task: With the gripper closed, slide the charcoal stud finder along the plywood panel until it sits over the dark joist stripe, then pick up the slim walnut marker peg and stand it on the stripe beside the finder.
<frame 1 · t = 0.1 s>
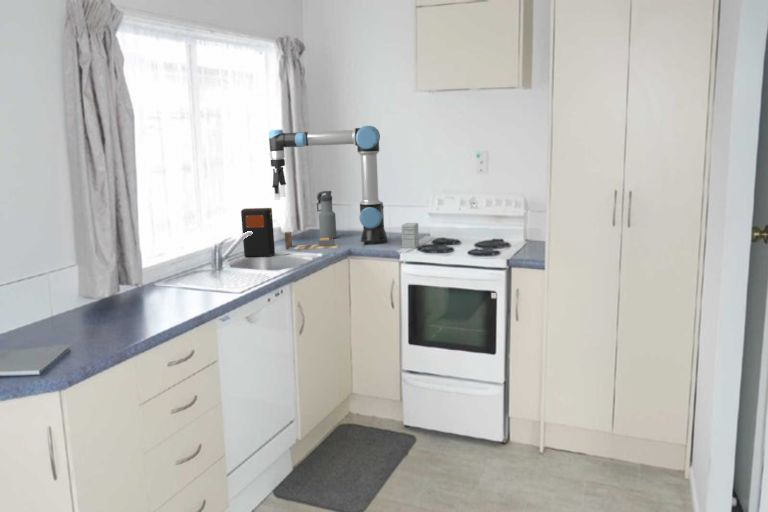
hand: (280, 198, 374), 28 cm above the counter, tool pointing down, fingers open, 13 cm apart
water bottle: (328, 238, 409), on the counter
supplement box: (410, 247, 370), on the counter
marker peg: (288, 248, 379), on the counter
voltmeter: (259, 256, 362), on the counter
plywood panel: (317, 248, 376), on the counter
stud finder: (326, 245, 377), point 1 cm above the counter, touching plywood panel
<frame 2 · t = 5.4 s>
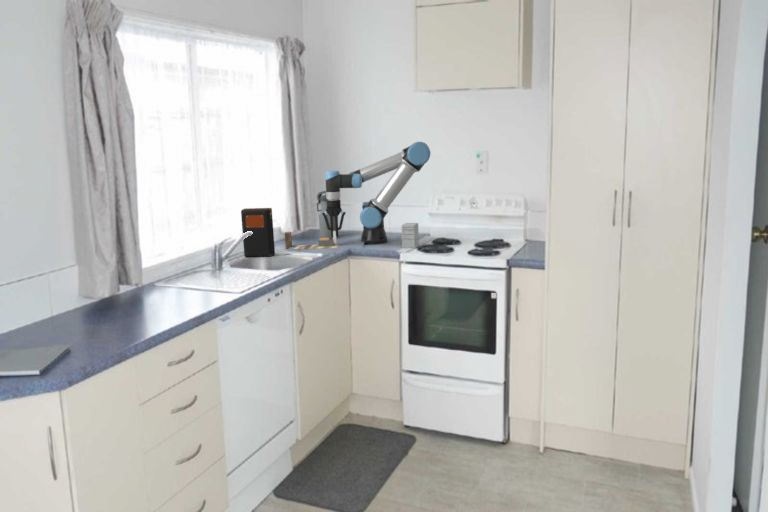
hand: (335, 242, 377), 3 cm above the counter, tool pointing down, fingers closed
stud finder: (326, 245, 377), point 1 cm above the counter, touching gripper
everything else where it was.
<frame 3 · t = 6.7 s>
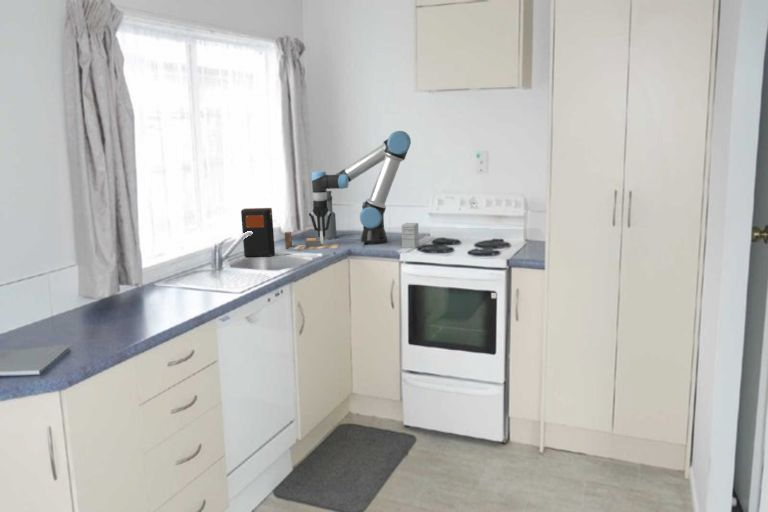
hand: (322, 242, 377), 3 cm above the counter, tool pointing down, fingers closed
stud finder: (313, 245, 378), point 1 cm above the counter, touching gripper
everything else where it was.
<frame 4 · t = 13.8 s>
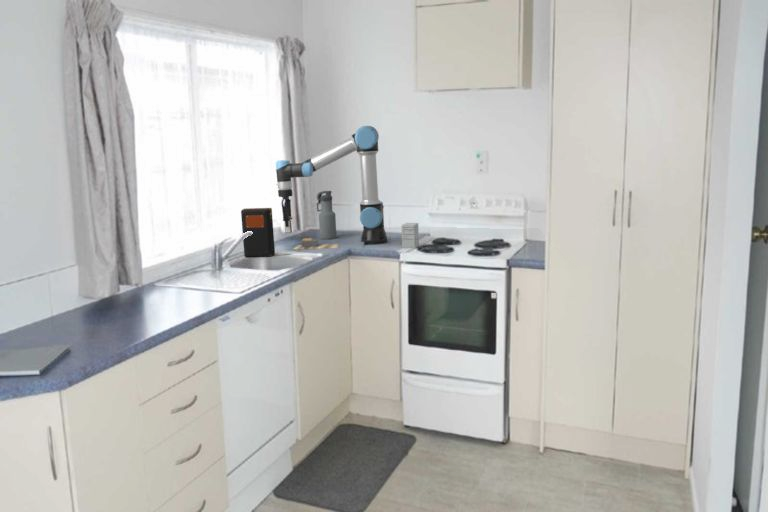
hand: (288, 231, 377), 9 cm above the counter, tool pointing down, fingers closed on marker peg, 3 cm apart
marker peg: (288, 232, 377), point 9 cm above the counter, touching gripper
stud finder: (309, 246, 378), point 1 cm above the counter, touching plywood panel
everything else where it was.
when the fingers open (2 cm above the counter, at t = 17.1 s): marker peg stays where it is, resting on plywood panel.
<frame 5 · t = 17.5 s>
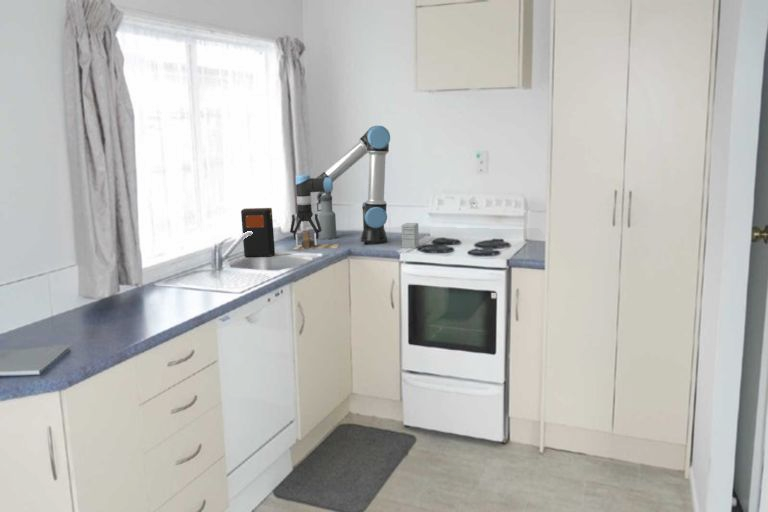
hand: (306, 245, 372), 3 cm above the counter, tool pointing down, fingers open, 9 cm apart
marker peg: (306, 248, 372), point 1 cm above the counter, touching plywood panel
everything else where it was.
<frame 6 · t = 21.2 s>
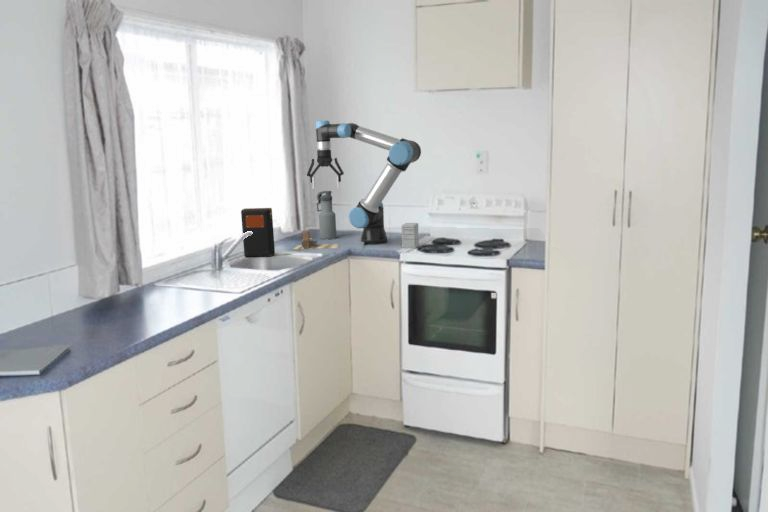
hand: (326, 188, 380), 32 cm above the counter, tool pointing down, fingers open, 13 cm apart
nothing on the counter moved.
at the end: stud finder inside the target area on the plywood panel (1.5 cm from its centre), point 1.2 cm above the plywood panel's base; marker peg 0.1 cm from the target spot on the plywood panel, point 1.2 cm above the plywood panel's base; marker peg tilted 0° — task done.
